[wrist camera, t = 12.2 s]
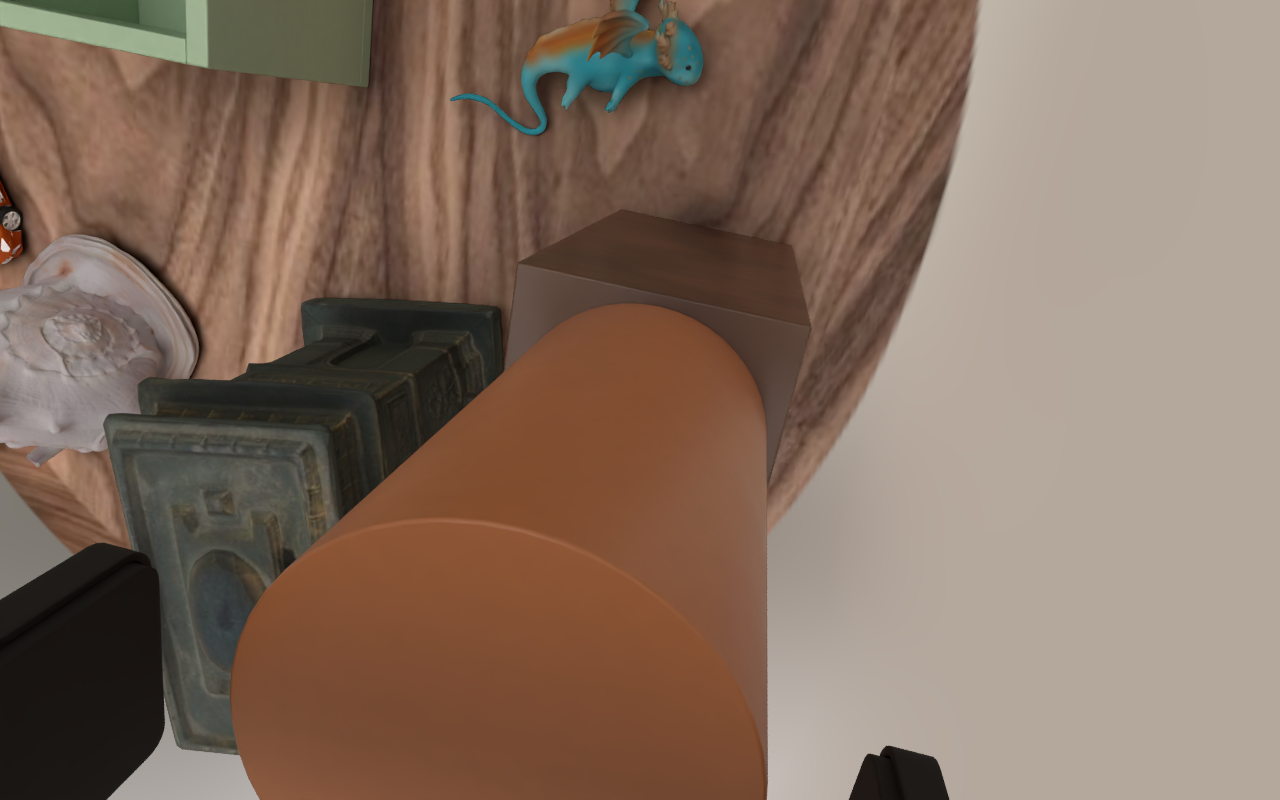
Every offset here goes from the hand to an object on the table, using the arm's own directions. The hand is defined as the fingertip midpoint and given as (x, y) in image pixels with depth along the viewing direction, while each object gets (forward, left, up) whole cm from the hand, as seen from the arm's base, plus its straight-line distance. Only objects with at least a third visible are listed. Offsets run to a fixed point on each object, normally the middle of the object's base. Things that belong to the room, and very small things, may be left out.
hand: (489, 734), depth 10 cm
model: (+11, +9, -25) cm, 28 cm away
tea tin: (0, 0, -10) cm, 10 cm away
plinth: (0, 0, -24) cm, 24 cm away
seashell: (+27, +8, -25) cm, 38 cm away
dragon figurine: (+5, -9, -25) cm, 27 cm away
